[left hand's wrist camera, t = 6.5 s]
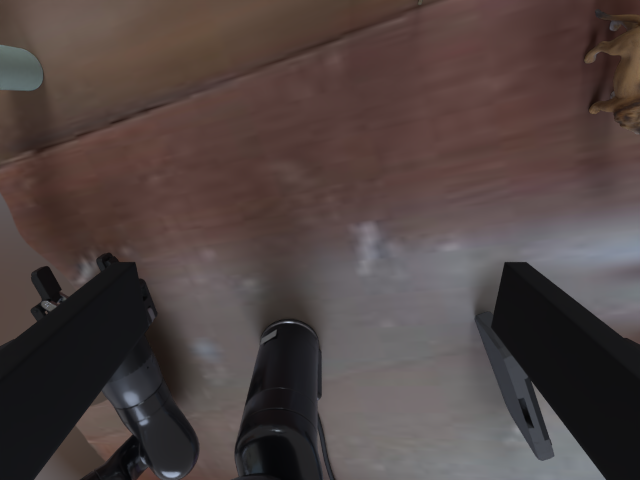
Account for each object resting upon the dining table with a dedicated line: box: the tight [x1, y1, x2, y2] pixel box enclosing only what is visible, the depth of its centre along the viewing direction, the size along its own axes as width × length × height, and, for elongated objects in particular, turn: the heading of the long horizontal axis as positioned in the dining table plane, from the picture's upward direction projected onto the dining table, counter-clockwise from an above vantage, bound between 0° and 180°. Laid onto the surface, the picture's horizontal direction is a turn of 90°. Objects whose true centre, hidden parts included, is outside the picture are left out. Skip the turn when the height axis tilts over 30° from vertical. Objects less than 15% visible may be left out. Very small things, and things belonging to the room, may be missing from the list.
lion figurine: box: [584, 9, 640, 134], centre depth 38 cm, size 15×5×9 cm, turn 27°
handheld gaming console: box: [475, 312, 554, 461], centre depth 53 cm, size 23×3×10 cm, turn 25°
